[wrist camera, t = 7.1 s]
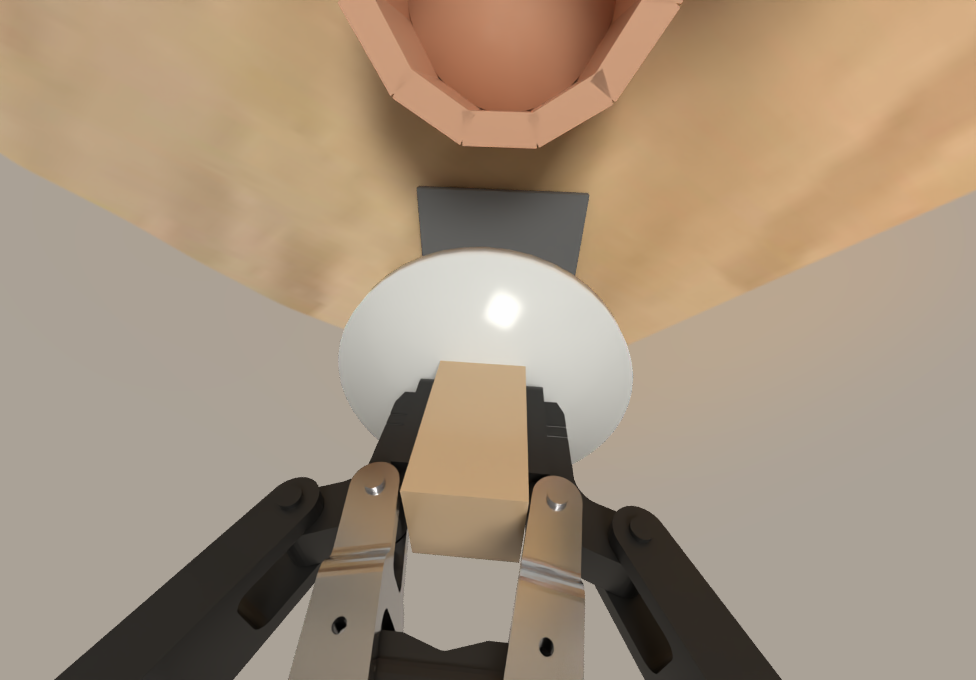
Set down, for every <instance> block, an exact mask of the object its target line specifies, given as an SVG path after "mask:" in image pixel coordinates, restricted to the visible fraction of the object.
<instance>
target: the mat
mask: <svg viewBox="0 0 976 680" xmlns="http://www.w3.org/2000/svg"><path fill="white" fill-rule="evenodd" d="M417 197H418V209H419V221H420V233H421V244H422V256H425V255H429V254H432V253H436V252H439V251H443V250H450V249H457V248H463V247H491V248H500V249H508V250H513V251H517V252H521V253H526V254H530V255H533V256H536V257H538V258H541V259H543V260H546V261H548V262H551V263H553V264H555V265H557V266H559V267H561V268H562V269H564V270H566V271H568V272H570V273H571V274H573V275H574V276H575V273H576V268H577V262H578V256H579V251H580V245H581V240H582V234H583V228H584V223H585V217H586V211H587V206H588V200H589V194H588V193H576V192H551V191H527V190H503V189H479V188H455V187H431V186H419V187H417Z"/></svg>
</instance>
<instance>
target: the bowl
mask: <svg viewBox="0 0 976 680" xmlns="http://www.w3.org/2000/svg"><path fill="white" fill-rule="evenodd" d="M682 2H683V0H340V1H339V2H338V4H339V6H340V8H341V10H342V11H343V13H344V15H345V17H346V18H347V20H348V22H349V24H350V26H351V27H352V29H353V31H354V33H355V34H356V36H357V38H358V40H359V41H360V43H361V45H362V47H363V48H364V50H365V52H366V54H367V56H368V57H369V59H370V61H371V63H372V64H373V66H374V68H375V70H376V71H377V73H378V75H379V77H380V79H381V80H382V82H383V84H384V86H385V87H386V89H387V91H388V93H389V94H390V96H393V99H394V100H396V101H397V102H399V103H400V104H401V105H403V106H404V107H406V108H407V109H409V110H410V111H412V112H413V113H414V114H416V115H417V116H419V117H420V118H422V119H423V120H425V121H426V122H427V123H429V124H430V125H432V126H433V127H435V128H436V129H438V130H439V131H440V132H442V133H443V134H445V135H446V136H448V137H449V138H451V139H452V140H453V141H455V142H456V143H458V144H459V145H461V144H463V146H478V147H506V148H534V149H536V148H537V145H538V147H539V148H540V147H541V146H543V145H545V144H547V143H548V142H550V141H552V140H553V139H555V138H557V137H559V136H560V135H562V134H564V133H565V132H567V131H569V130H571V129H572V128H574V127H576V126H577V125H579V124H581V123H583V122H584V121H586V120H588V119H589V118H591V117H593V116H595V115H596V114H598V113H600V112H601V111H603V110H605V109H606V108H608V107H610V106H612V105H613V103H612V102H616V101H617V99H618V98H619V97H620V95H621V94H622V92H623V91H624V89H625V88H626V86H627V85H628V83H629V82H630V80H631V79H632V78H633V76H634V75H635V73H636V72H637V70H638V69H639V67H640V66H641V64H642V63H643V61H644V60H645V58H646V57H647V56H648V54H649V53H650V51H651V50H652V48H653V47H654V45H655V44H656V42H657V41H658V39H659V38H660V37H661V35H662V34H663V32H664V31H665V29H666V28H667V26H668V25H669V23H670V22H671V20H672V19H673V17H674V16H675V15H676V13H677V12H678V10H679V9H680V7H679V5H680V4H682ZM481 108H482V109H486V110H482V109H481ZM530 109H532V110H530ZM526 110H530V111H526Z"/></svg>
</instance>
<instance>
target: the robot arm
mask: <svg viewBox="0 0 976 680" xmlns="http://www.w3.org/2000/svg"><path fill="white" fill-rule="evenodd" d="M434 380H435V379H422V378H421V379H420V381H419V384H418V386H417V389H416V392H404V393H403V394H402V395H401V396H400V397H399V398H398V399H397V400H396V401H395V403H394V406H393V408H392V410H391V413H390V415H389V417H388V420H387V422H386V425H385V427H384V429H383V432H382V434H381V437H380V439H379V442H378V444H377V446H376V449H375V451H374V453H373V456H372V458H371V460H370V462H369V464H368V465H366V466H364V467H363V468H361V469H360V470H359V471H358V472H357V473H356V474H355V475H354V476H353V478H352V479H349V480H347V481H344V482H340V483H335V484H331V485H326V486H321V487H318V485H317V483H316V482H315V481H314V480H312V479H310V478H306V477H299V478H294V479H291V480H288V481H286V482H284V483H282V484H281V485H279V486H278V487H276V488H275V489H274V490H273V491H272V492H271V493H270V494H268V495H267V496H266V497H265V498H264V499H262V500H261V501H260V502H259V503H258V504H257V505H256V506H254V507H253V508H252V509H251V510H250V511H249V512H248V513H246V514H245V515H244V516H243V517H242V518H241V519H239V520H238V521H237V522H236V523H235V524H234V525H232V526H231V527H230V528H229V529H228V530H227V531H226V532H224V533H223V534H222V535H221V536H220V537H219V538H217V540H215V541H214V542H213V543H212V544H210V545H209V546H208V547H207V548H206V549H205V550H204V551H203V552H201V553H200V554H199V555H198V556H197V557H195V558H194V559H193V560H192V561H191V562H190V563H189V564H187V565H186V566H185V567H184V568H183V569H182V570H180V571H179V572H178V573H177V574H176V575H175V576H174V577H172V578H171V579H170V580H169V581H168V582H167V583H165V584H164V585H163V586H162V587H161V588H160V589H158V590H157V591H156V592H155V593H154V594H153V595H152V596H150V597H149V598H148V599H147V600H146V601H145V602H143V603H142V604H141V605H140V606H139V607H138V608H137V609H136V610H135V611H133V612H132V613H131V614H130V615H129V616H127V617H126V618H125V619H124V620H123V621H122V622H120V624H118V625H117V626H116V627H115V628H114V629H112V630H111V631H110V632H109V633H108V634H107V635H105V636H104V637H103V638H102V639H101V640H100V641H98V642H97V643H96V644H95V645H94V646H93V647H92V648H90V649H89V650H88V651H87V652H86V653H85V654H84V655H82V656H81V657H80V658H79V659H78V660H76V661H75V662H74V663H73V664H72V665H71V666H70V667H68V668H67V669H66V670H65V671H64V672H63V673H61V674H60V675H59V676H58V677H57V678H56V679H55V680H233V679H234V678H235V677H236V676H237V675H238V673H239V672H240V671H241V670H242V669H243V667H244V666H245V665H246V664H247V663H248V661H249V660H250V659H251V658H252V657H253V655H254V654H255V653H256V652H257V651H258V650H259V648H260V647H261V646H262V645H263V643H264V642H265V641H266V640H267V639H268V638H269V636H270V635H271V634H272V633H273V631H275V629H276V628H277V627H278V626H279V625H280V623H281V622H282V621H283V620H284V619H285V617H286V616H287V615H288V614H289V612H290V611H291V610H292V609H293V608H294V606H296V604H297V603H298V602H299V601H300V600H301V598H302V597H303V596H304V595H305V594H306V592H307V591H308V590H309V589H310V588H311V586H312V585H313V584H314V583H315V584H314V587H313V591H312V595H311V599H310V602H309V606H308V609H307V613H306V616H305V620H304V624H303V627H302V631H301V634H300V638H299V642H298V645H297V649H296V653H295V656H294V660H293V663H292V667H291V671H290V674H289V678H288V680H584V622H585V620H584V618H585V592H584V585H583V583H582V581H581V578H582V579H584V580H586V581H588V582H590V583H592V584H594V585H595V586H596V589H597V590H598V592H599V594H600V596H601V598H602V600H603V602H604V604H605V606H606V607H607V609H608V611H609V613H610V615H611V617H612V619H613V621H614V623H615V624H616V626H617V628H618V630H619V632H620V634H621V636H622V638H623V639H624V641H625V643H626V645H627V647H628V649H629V651H630V653H631V654H632V656H633V658H634V660H635V662H636V664H637V666H638V668H639V670H640V672H641V673H642V675H643V677H644V679H645V680H782V679H781V678H780V677H779V675H778V674H777V673H776V672H775V670H774V669H773V668H772V666H771V665H770V664H769V662H768V661H767V660H766V659H765V657H764V656H763V655H762V653H761V652H760V651H759V650H758V648H757V647H756V646H755V644H754V643H753V642H752V640H751V639H750V638H749V636H748V635H747V634H746V632H745V631H744V630H743V629H742V627H741V626H740V625H739V623H738V622H737V621H736V619H735V618H734V617H733V615H732V614H731V613H730V612H729V610H728V609H727V608H726V606H725V605H724V604H723V602H722V601H721V600H720V599H719V597H718V596H717V595H716V593H715V592H714V591H713V589H712V588H711V587H710V586H709V584H708V583H707V582H706V580H705V579H704V578H703V576H702V575H701V574H700V572H699V571H698V570H697V569H696V567H695V566H694V565H693V563H692V562H691V561H690V560H689V558H688V557H687V556H686V554H685V553H684V552H683V550H682V549H681V548H680V546H679V545H678V544H677V543H676V541H675V540H674V539H673V537H672V536H671V535H670V533H669V532H668V531H667V529H666V528H665V527H664V526H663V524H662V523H661V522H660V521H659V520H658V518H656V517H655V516H654V515H653V514H652V513H650V512H649V511H647V510H645V509H642V508H640V507H636V506H626V507H623V508H621V509H619V510H618V511H617V512H616V511H614V510H611V509H609V508H606V507H604V506H601V505H599V504H597V503H595V502H592V501H591V500H589V499H588V498H587V497H585V496H584V494H583V493H582V492H581V491H580V490H579V489H578V487H577V485H576V483H575V481H574V477H573V469H572V463H571V456H570V449H569V442H568V435H567V429H566V422H565V415H564V413H563V411H562V410H561V408H560V407H559V405H558V404H557V403H556V402H544V394H543V387H535V386H526V404H527V444H528V484H529V505H528V511H527V517H526V523H525V539H524V545H523V552H522V558H521V564H520V571H519V577H518V583H517V590H516V596H515V603H514V609H513V616H512V621H511V628H510V634H509V641H508V643H502V642H493V641H486V642H482V643H478V644H474V645H469V646H465V647H461V648H457V649H452V650H448V651H441V650H438V649H436V648H434V647H432V646H430V645H428V644H426V643H424V642H422V641H420V640H418V639H416V638H414V637H411V636H409V635H407V634H405V633H403V627H404V604H403V597H404V584H405V572H406V560H407V550H408V539H409V533H408V528H407V523H406V518H405V513H404V508H403V503H402V498H401V493H400V489H401V486H402V483H403V480H404V477H405V473H406V470H407V467H408V464H409V460H410V457H411V454H412V451H413V447H414V444H415V441H416V438H417V435H418V431H419V428H420V425H421V422H422V418H423V415H424V412H425V409H426V406H427V402H428V399H429V396H430V393H431V389H432V386H433V383H434Z"/></svg>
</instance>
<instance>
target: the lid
mask: <svg viewBox="0 0 976 680" xmlns="http://www.w3.org/2000/svg"><path fill="white" fill-rule="evenodd" d="M338 360H339V361H338V362H339V374H340V379H341V385H342V388H343V390H344V393H345V396H346V399H347V400H348V402H349V404H350V406H351V408H352V410H353V412H354V413H355V414H356V416H357V417H358V419H359V420H360V421H361V423H362V424H363V425H364V426H365V427H366V428H367V429H368V430H369V432H370V433H371V434H372V435H373V436H375V437H376V438H377V439H378V440H379V439H380V437H381V434H382V432H383V429H384V427H385V425H386V422H387V420H388V417H389V415H390V413H391V410H392V408H393V406H394V403H395V401H396V400H397V399H398V398H399V397H400V396H401V395H402V394H403V393H404V392H416V389H417V386H418V384H419V381H420V379H421V378H422V379H435V380H434V383H433V386H432V389H431V393H430V396H429V399H428V402H427V406H426V409H425V412H424V415H423V418H422V422H421V425H420V428H419V431H418V435H417V438H416V441H415V444H414V447H413V451H412V454H411V457H410V460H409V464H408V467H407V470H406V473H405V477H404V480H403V483H402V486H401V489H400V493H401V498H402V503H403V508H404V513H405V518H406V523H407V528H408V533H409V538H410V543H411V548H412V552H413V553H422V554H433V555H443V556H454V557H464V558H475V559H486V560H497V561H507V562H518V563H519V559H520V553H521V547H522V541H523V535H524V528H525V523H526V517H527V511H528V505H529V484H528V444H527V404H526V386H535V387H543V394H544V402H556V403H557V404H558V405H559V407H560V408H561V410H562V411H563V413H564V415H565V422H566V429H567V435H568V442H569V449H570V456H571V463H572V464H574V463H576V462H578V461H579V460H581V459H583V458H584V457H586V456H587V455H589V454H590V453H592V452H593V451H594V450H595V449H597V448H598V447H599V446H600V445H601V444H602V443H604V442H605V441H606V439H607V438H608V437H609V436H610V435H611V434H612V433H613V432H614V430H615V429H616V427H617V426H618V424H619V422H620V421H621V420H622V418H623V416H624V413H625V411H626V409H627V407H628V404H629V400H630V396H631V392H632V383H633V371H632V361H631V357H630V353H629V350H628V347H627V343H626V341H625V339H624V337H623V335H622V332H621V330H620V328H619V326H618V324H617V322H616V320H615V318H614V316H613V314H612V313H611V312H610V310H609V309H608V307H607V306H606V305H605V303H604V302H603V300H602V299H601V298H600V297H599V296H598V295H597V294H596V293H595V292H594V291H593V290H592V289H591V288H590V287H589V286H588V285H586V284H585V283H584V282H582V281H581V280H580V279H578V278H577V277H576V276H574V275H573V274H571V273H570V272H568V271H566V270H564V269H562V268H561V267H559V266H557V265H555V264H553V263H551V262H548V261H546V260H543V259H541V258H538V257H536V256H533V255H530V254H526V253H521V252H517V251H513V250H508V249H500V248H491V247H463V248H457V249H450V250H443V251H439V252H436V253H432V254H429V255H425V256H422V257H419V258H417V259H415V260H413V261H410V262H408V263H406V264H404V265H402V266H400V267H399V268H397V269H396V270H394V271H393V272H391V273H389V274H388V275H386V276H385V277H384V278H383V279H382V280H381V281H380V282H379V283H377V284H376V285H375V286H374V287H373V288H372V289H371V291H370V292H369V293H368V294H367V296H366V297H365V298H364V299H363V301H362V302H361V303H360V304H359V306H358V307H357V308H356V309H355V310H354V312H353V313H352V315H351V317H350V319H349V321H348V323H347V324H346V326H345V329H344V332H343V335H342V338H341V341H340V348H339V355H338Z"/></svg>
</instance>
